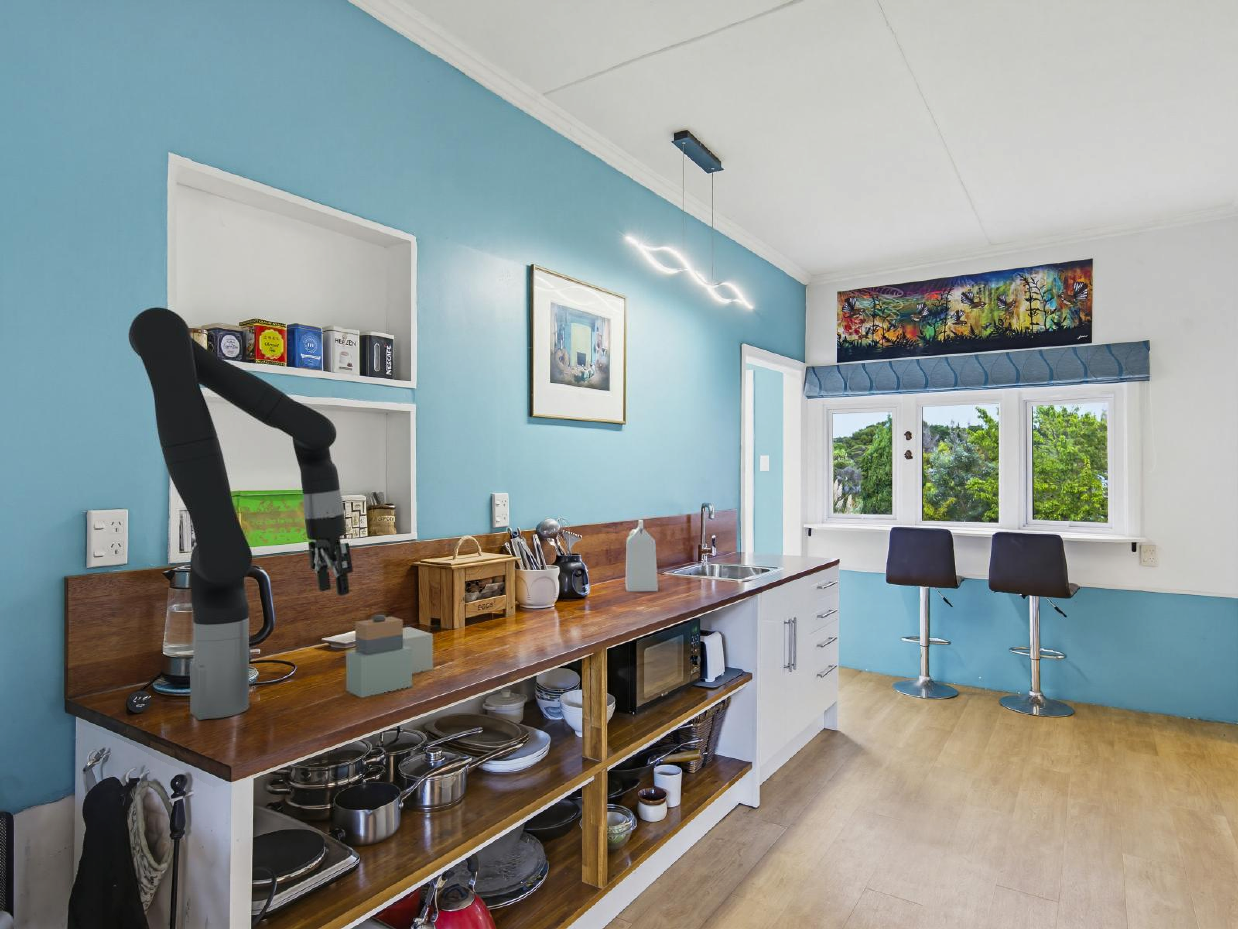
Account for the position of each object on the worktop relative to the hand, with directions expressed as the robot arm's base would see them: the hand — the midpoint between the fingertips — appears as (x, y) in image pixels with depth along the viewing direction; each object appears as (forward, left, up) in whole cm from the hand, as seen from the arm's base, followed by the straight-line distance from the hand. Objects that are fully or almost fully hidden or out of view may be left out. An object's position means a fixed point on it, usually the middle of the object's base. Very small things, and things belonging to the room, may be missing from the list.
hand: (334, 592), depth 152 cm
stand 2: (+20, +7, -20) cm, 29 cm away
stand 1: (+8, -4, -20) cm, 22 cm away
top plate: (+8, -4, -9) cm, 13 cm away
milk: (+139, +49, -21) cm, 149 cm away
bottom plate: (+8, -4, -12) cm, 15 cm away
